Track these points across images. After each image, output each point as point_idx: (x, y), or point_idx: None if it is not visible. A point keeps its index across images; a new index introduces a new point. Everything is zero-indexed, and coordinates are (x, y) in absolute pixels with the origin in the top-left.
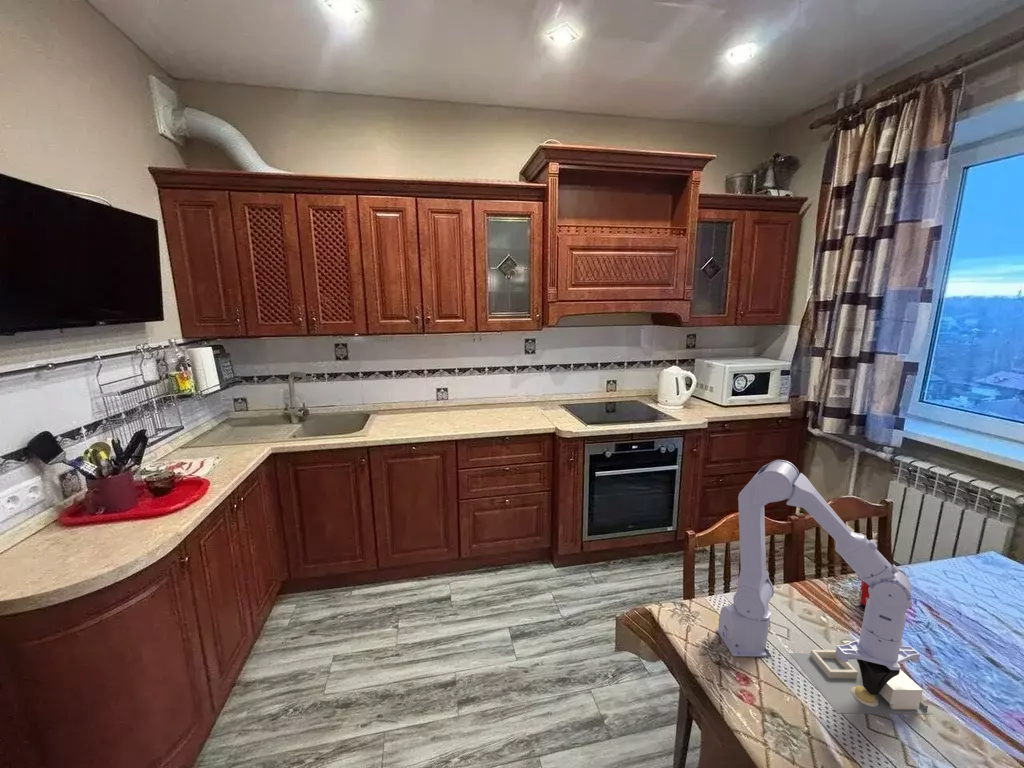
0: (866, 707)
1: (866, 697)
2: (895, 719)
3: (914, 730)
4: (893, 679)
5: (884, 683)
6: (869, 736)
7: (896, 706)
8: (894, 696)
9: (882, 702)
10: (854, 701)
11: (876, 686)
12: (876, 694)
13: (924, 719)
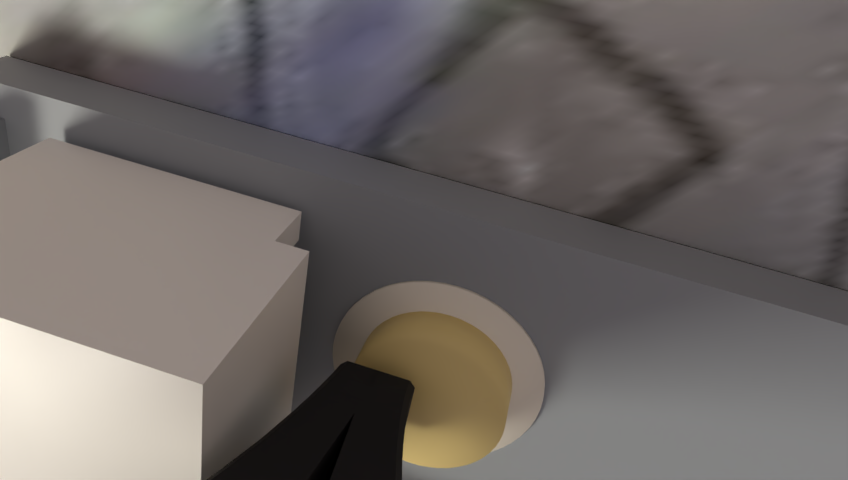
0: (544, 301)
1: (473, 373)
2: (326, 141)
3: (252, 8)
4: (66, 455)
5: (243, 477)
6: (828, 76)
7: (248, 216)
8: (224, 302)
9: (321, 285)
10: (597, 376)
11: (359, 466)
12: (358, 367)
13: (64, 70)
